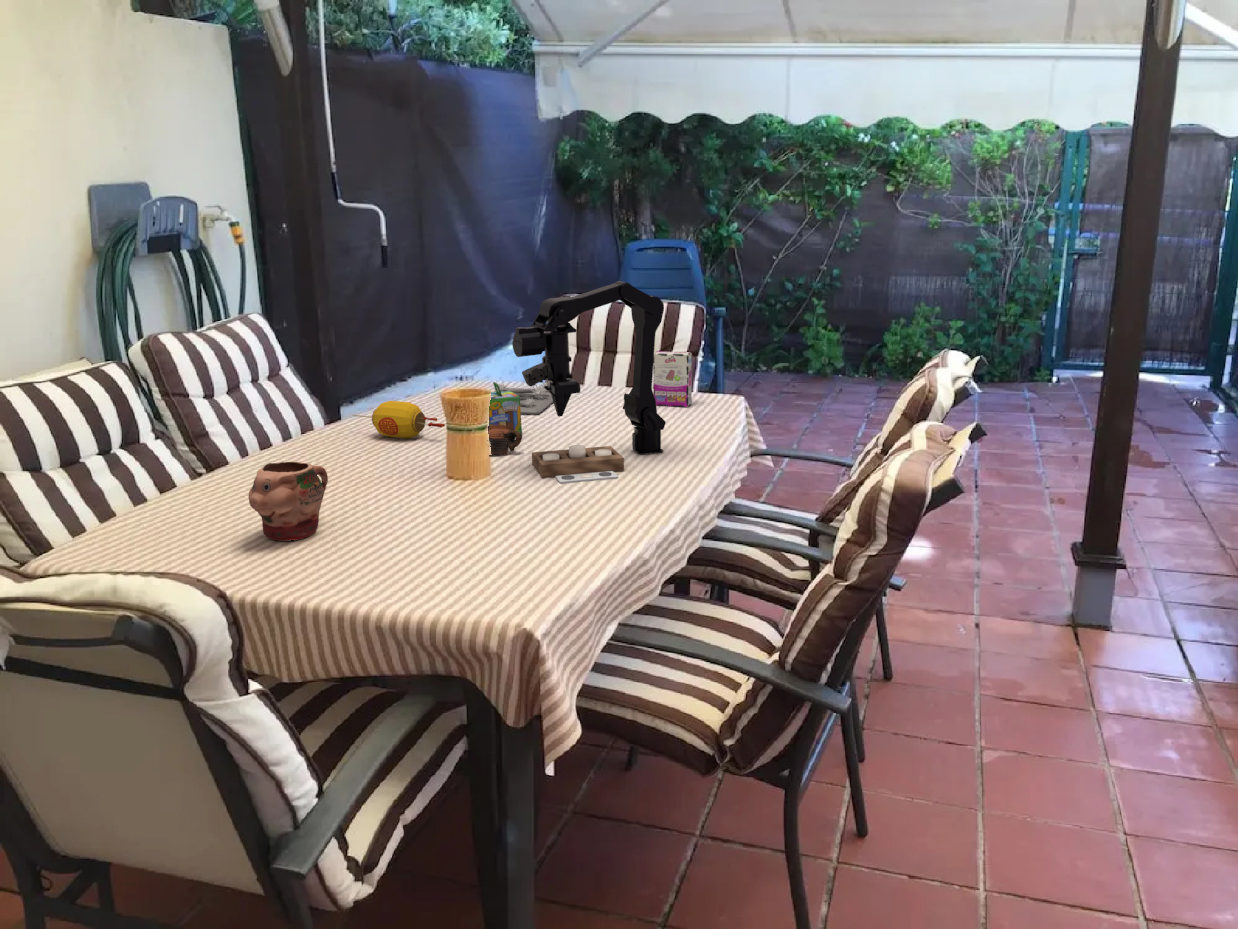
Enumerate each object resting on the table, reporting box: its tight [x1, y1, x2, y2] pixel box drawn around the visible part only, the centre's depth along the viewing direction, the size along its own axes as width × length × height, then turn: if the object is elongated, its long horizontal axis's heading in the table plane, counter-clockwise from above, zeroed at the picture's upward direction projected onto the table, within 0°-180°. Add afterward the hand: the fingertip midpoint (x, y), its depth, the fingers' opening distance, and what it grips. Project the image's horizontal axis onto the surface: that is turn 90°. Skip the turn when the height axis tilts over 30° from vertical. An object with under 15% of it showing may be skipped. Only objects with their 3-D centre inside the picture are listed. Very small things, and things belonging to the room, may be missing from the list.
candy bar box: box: [653, 350, 693, 408], centre depth 313 cm, size 11×5×16 cm, turn 73°
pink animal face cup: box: [248, 461, 329, 542], centre depth 202 cm, size 20×12×14 cm, turn 159°
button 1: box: [543, 453, 559, 461], centre depth 245 cm, size 4×4×3 cm
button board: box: [531, 445, 625, 479], centre depth 247 cm, size 20×12×3 cm, turn 106°
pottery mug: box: [488, 425, 523, 456], centre depth 262 cm, size 12×10×8 cm
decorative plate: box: [497, 380, 554, 416], centre depth 318 cm, size 30×22×7 cm
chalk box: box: [489, 381, 523, 436], centre depth 277 cm, size 9×9×15 cm
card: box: [554, 471, 619, 484], centre depth 239 cm, size 14×5×1 cm, turn 106°
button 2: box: [595, 449, 611, 456], centre depth 249 cm, size 4×4×3 cm
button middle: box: [568, 444, 586, 459], centre depth 246 cm, size 4×4×3 cm
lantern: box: [352, 400, 446, 440], centre depth 277 cm, size 10×10×30 cm
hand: (559, 416), depth 248 cm, fingers closed
